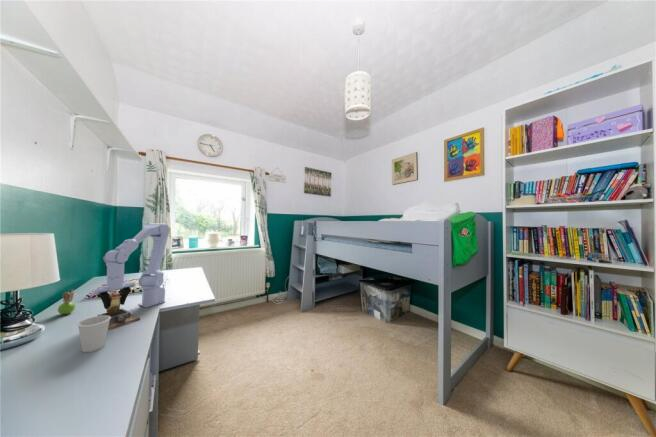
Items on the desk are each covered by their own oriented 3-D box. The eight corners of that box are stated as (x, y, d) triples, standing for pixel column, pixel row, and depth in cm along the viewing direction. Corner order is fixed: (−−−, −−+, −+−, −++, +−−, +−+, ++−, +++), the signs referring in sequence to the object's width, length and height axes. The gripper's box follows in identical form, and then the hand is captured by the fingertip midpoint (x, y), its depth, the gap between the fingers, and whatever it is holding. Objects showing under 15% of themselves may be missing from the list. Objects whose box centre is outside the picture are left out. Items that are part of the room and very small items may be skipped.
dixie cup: (89, 356, 76) (90, 326, 76) (69, 353, 78) (70, 324, 78) (116, 342, 84) (116, 316, 84) (97, 340, 86) (98, 314, 86)
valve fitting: (117, 307, 106) (119, 290, 106) (122, 310, 103) (124, 293, 103) (102, 310, 101) (104, 293, 101) (108, 314, 99) (110, 296, 99)
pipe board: (123, 312, 111) (123, 306, 111) (139, 319, 103) (140, 313, 103) (89, 321, 100) (89, 314, 100) (105, 330, 93) (105, 323, 93)
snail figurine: (64, 317, 103) (65, 291, 103) (54, 315, 105) (55, 289, 105) (79, 312, 109) (80, 287, 109) (69, 310, 110) (70, 286, 110)
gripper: (130, 272, 110) (129, 299, 110) (89, 278, 97) (88, 309, 97) (138, 274, 107) (137, 302, 107) (96, 281, 94) (95, 313, 94)
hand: (114, 306), depth 102 cm, fingers closed on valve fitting, 5 cm apart
